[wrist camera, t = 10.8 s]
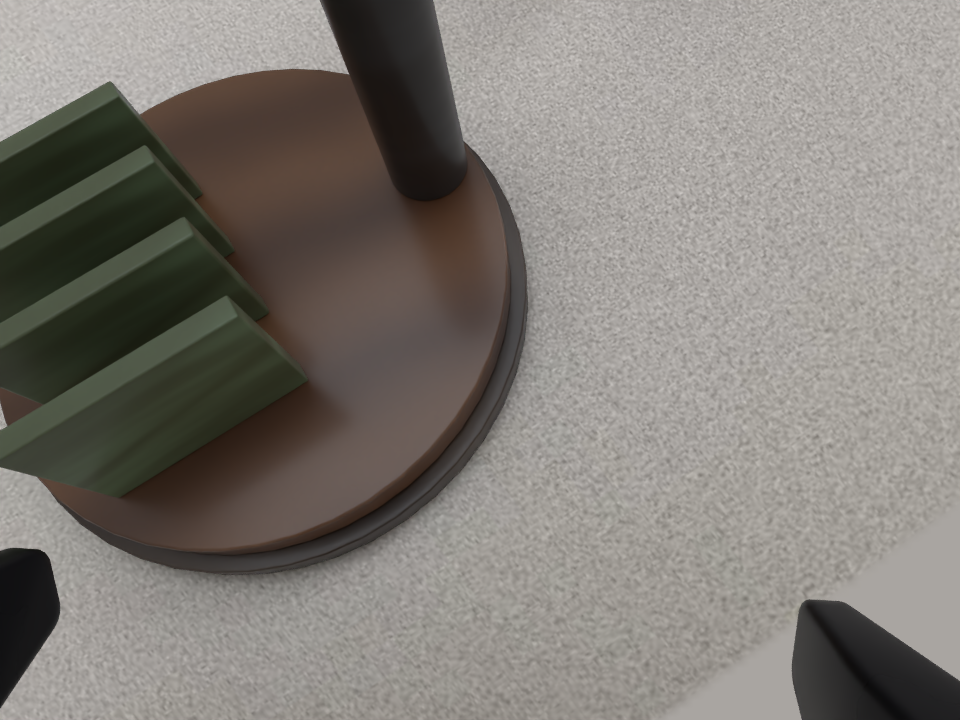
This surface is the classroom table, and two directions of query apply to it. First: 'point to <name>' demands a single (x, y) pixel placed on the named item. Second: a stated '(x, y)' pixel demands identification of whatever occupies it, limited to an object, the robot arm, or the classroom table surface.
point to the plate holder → (250, 293)
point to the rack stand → (411, 495)
